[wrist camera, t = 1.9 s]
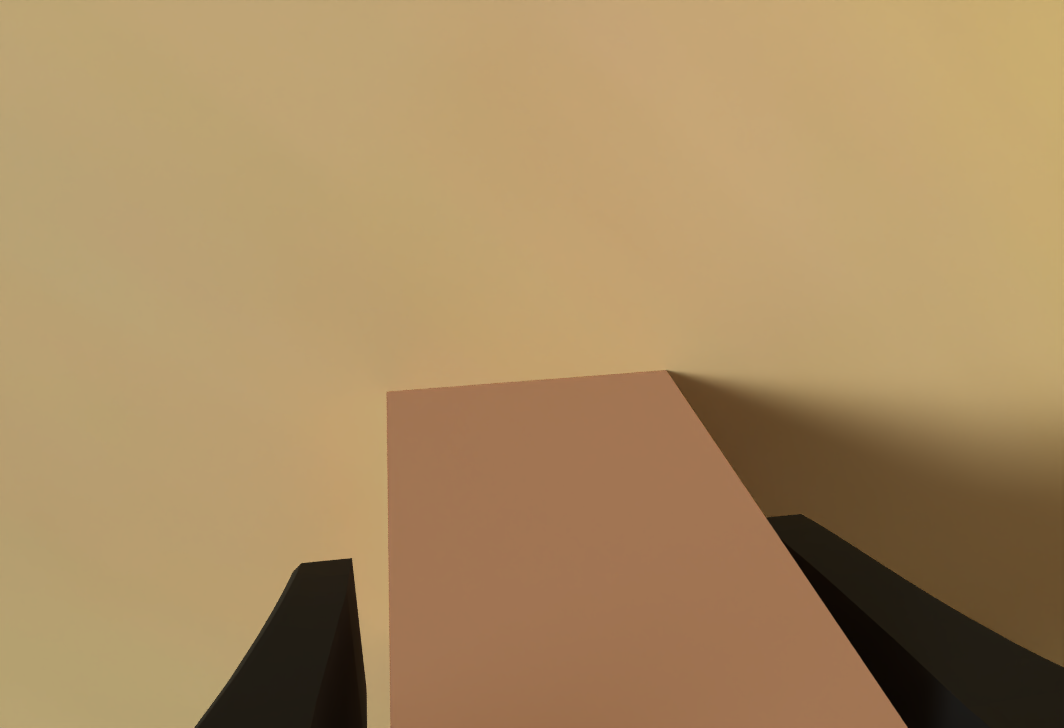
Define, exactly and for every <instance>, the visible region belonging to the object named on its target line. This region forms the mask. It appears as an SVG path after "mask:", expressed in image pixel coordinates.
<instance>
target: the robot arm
mask: <svg viewBox="0 0 1064 728" xmlns="http://www.w3.org/2000/svg"><path fill="white" fill-rule="evenodd" d="M766 519H767V520H768V522H769V523H770V525H771V526H772V528H773V529H774V530H775V532H776V533H777V535H778V536H779V538H780V539H781V541H782V542H783V544H784V545H785V547H786V548H787V550H788V551H789V553H790V554H791V556H792V557H793V559H794V560H795V562H796V563H797V565H798V566H799V567H800V569H801V570H802V572H803V573H804V575H805V576H806V578H807V579H808V581H809V582H810V584H811V585H812V587H813V588H814V590H815V591H816V593H817V594H818V596H819V597H820V599H821V600H822V602H823V603H824V604H825V606H826V607H827V609H828V610H829V612H830V613H831V615H832V616H833V618H834V619H835V621H836V622H837V624H838V625H839V627H840V628H841V630H842V631H843V633H844V634H845V636H846V637H847V639H848V640H849V641H850V643H851V644H852V646H853V647H854V649H855V650H856V652H857V653H858V655H859V656H860V658H861V659H862V661H863V662H864V664H865V665H866V667H867V668H868V670H869V671H870V673H871V674H872V676H873V677H874V678H875V680H876V681H877V683H878V684H879V686H880V687H881V689H882V690H883V692H884V693H885V695H886V696H887V698H888V699H889V701H890V702H891V704H892V705H893V707H894V708H895V710H896V711H897V713H898V714H899V715H900V717H901V718H902V720H903V721H904V723H905V724H906V726H907V727H908V728H1064V667H1062V666H1059V665H1057V664H1055V663H1053V662H1051V661H1049V660H1047V659H1045V658H1043V657H1041V656H1039V655H1037V654H1035V653H1033V652H1031V651H1029V650H1027V649H1025V648H1023V647H1021V646H1019V645H1017V644H1015V643H1013V642H1012V641H1010V640H1008V639H1006V638H1004V637H1003V636H1001V635H999V634H997V633H995V632H994V631H992V630H990V629H988V628H986V627H984V626H983V625H981V624H979V623H977V622H975V621H974V620H972V619H970V618H968V617H966V616H965V615H963V614H961V613H960V612H958V611H956V610H955V609H953V608H951V607H949V606H948V605H946V604H944V603H943V602H941V601H939V600H938V599H936V598H934V597H933V596H931V595H929V594H928V593H926V592H925V591H923V590H921V589H920V588H918V587H917V586H915V585H913V584H912V583H910V582H908V581H907V580H905V579H904V578H902V577H901V576H899V575H897V574H896V573H894V572H893V571H891V570H890V569H888V568H886V567H885V566H883V565H882V564H880V563H879V562H877V561H875V560H874V559H872V558H871V557H869V556H868V555H866V554H865V553H863V552H862V551H860V550H858V549H857V548H855V547H854V546H852V545H851V544H849V543H848V542H846V541H844V540H843V539H841V538H840V537H838V536H837V535H835V534H833V533H832V532H830V531H829V530H827V529H825V528H824V527H822V526H821V525H819V524H817V523H816V522H814V521H812V520H810V519H809V518H807V517H805V516H803V515H801V514H798V515H788V516H778V517H768V518H766ZM195 728H367V692H366V681H365V672H364V663H363V654H362V645H361V636H360V627H359V618H358V609H357V600H356V591H355V582H354V574H353V565H352V558H350V559H340V560H330V561H319V562H309V563H301V564H300V565H299V566H298V567H297V568H296V569H295V570H294V572H293V573H292V575H291V577H290V579H289V581H288V583H287V585H286V587H285V589H284V591H283V593H282V595H281V597H280V598H279V600H278V602H277V604H276V606H275V607H274V609H273V611H272V613H271V615H270V616H269V618H268V620H267V621H266V623H265V625H264V626H263V628H262V630H261V631H260V633H259V635H258V636H257V638H256V640H255V641H254V643H253V644H252V646H251V647H250V649H249V650H248V652H247V653H246V655H245V657H244V658H243V660H242V661H241V663H240V664H239V666H238V667H237V669H236V670H235V672H234V674H233V675H232V677H231V678H230V680H229V681H228V682H227V684H226V685H225V687H224V688H223V690H222V691H221V692H220V694H219V695H218V696H217V698H216V699H215V701H214V702H213V703H212V705H211V706H210V707H209V709H208V710H207V711H206V713H205V714H204V715H203V717H202V718H201V719H200V721H199V722H198V724H197V725H196V726H195Z"/></svg>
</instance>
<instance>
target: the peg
mask: <svg viewBox="0 0 1064 728" xmlns="http://www.w3.org/2000/svg"><path fill="white" fill-rule="evenodd" d="M387 468H388V552H389V635H390V719H391V728H908V727H907V726H906V724H905V723H904V721H903V720H902V718H901V717H900V715H899V714H898V713H897V711H896V710H895V708H894V707H893V705H892V704H891V702H890V701H889V699H888V698H887V696H886V695H885V693H884V692H883V690H882V689H881V687H880V686H879V684H878V683H877V681H876V680H875V678H874V677H873V676H872V674H871V673H870V671H869V670H868V668H867V667H866V665H865V664H864V662H863V661H862V659H861V658H860V656H859V655H858V653H857V652H856V650H855V649H854V647H853V646H852V644H851V643H850V641H849V640H848V639H847V637H846V636H845V634H844V633H843V631H842V630H841V628H840V627H839V625H838V624H837V622H836V621H835V619H834V618H833V616H832V615H831V613H830V612H829V610H828V609H827V607H826V606H825V604H824V603H823V602H822V600H821V599H820V597H819V596H818V594H817V593H816V591H815V590H814V588H813V587H812V585H811V584H810V582H809V581H808V579H807V578H806V576H805V575H804V573H803V572H802V570H801V569H800V567H799V566H798V565H797V563H796V562H795V560H794V559H793V557H792V556H791V554H790V553H789V551H788V550H787V548H786V547H785V545H784V544H783V542H782V541H781V539H780V538H779V536H778V535H777V533H776V532H775V530H774V529H773V528H772V526H771V525H770V523H769V522H768V520H767V519H766V517H765V516H764V514H763V513H762V511H761V510H760V508H759V507H758V505H757V504H756V502H755V501H754V499H753V498H752V496H751V495H750V493H749V492H748V491H747V489H746V488H745V486H744V485H743V483H742V482H741V480H740V479H739V477H738V476H737V474H736V473H735V471H734V470H733V468H732V467H731V465H730V464H729V462H728V461H727V459H726V458H725V456H724V455H723V454H722V452H721V451H720V449H719V448H718V446H717V445H716V443H715V442H714V440H713V439H712V437H711V436H710V434H709V433H708V431H707V430H706V428H705V427H704V425H703V424H702V422H701V421H700V419H699V418H698V417H697V415H696V414H695V412H694V411H693V409H692V408H691V406H690V405H689V403H688V402H687V400H686V399H685V397H684V396H683V394H682V393H681V391H680V390H679V388H678V387H677V385H676V384H675V382H674V381H673V380H672V378H671V377H670V375H669V374H668V372H667V371H666V370H662V371H649V372H636V373H623V374H611V375H598V376H585V377H572V378H559V379H546V380H533V381H520V382H507V383H494V384H481V385H468V386H455V387H442V388H429V389H416V390H403V391H390V392H387Z"/></svg>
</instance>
